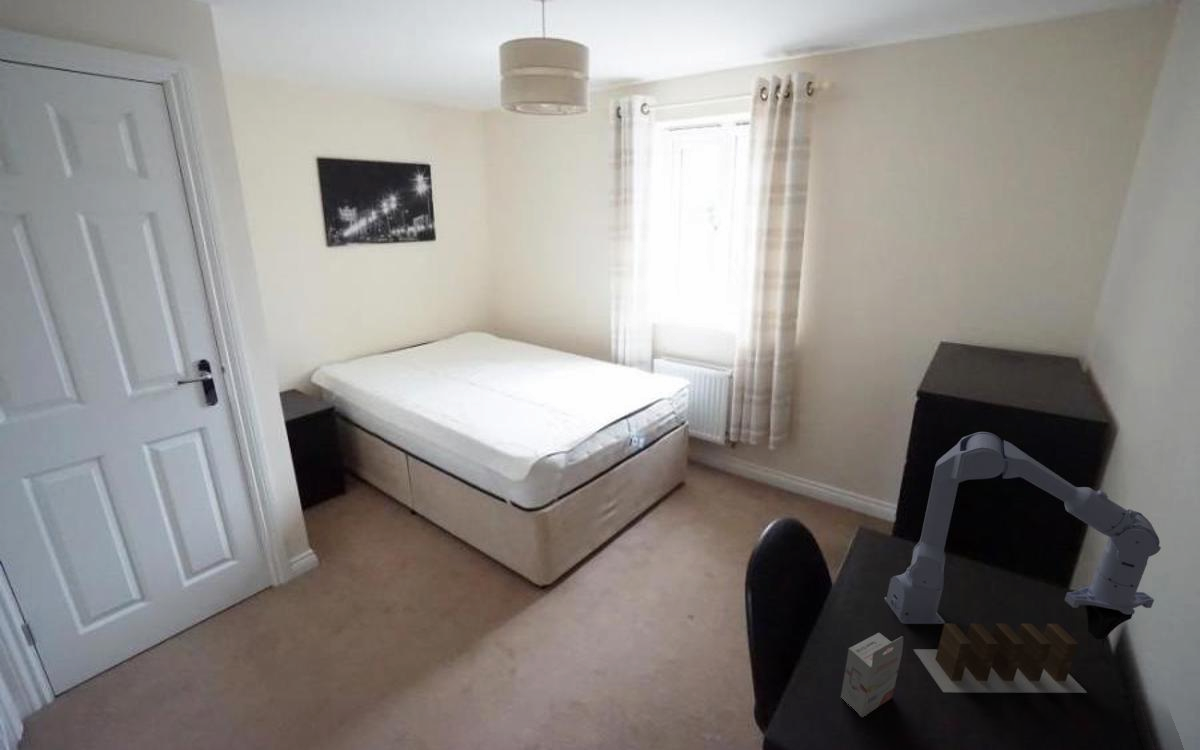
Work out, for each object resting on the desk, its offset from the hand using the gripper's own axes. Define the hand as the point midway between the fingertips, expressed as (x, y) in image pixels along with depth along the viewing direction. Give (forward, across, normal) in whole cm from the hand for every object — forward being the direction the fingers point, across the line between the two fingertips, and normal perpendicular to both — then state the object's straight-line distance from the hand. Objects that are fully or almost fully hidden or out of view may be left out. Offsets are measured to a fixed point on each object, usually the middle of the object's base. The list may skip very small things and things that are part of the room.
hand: (1095, 635), depth 102 cm
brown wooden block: (+9, -6, 0) cm, 11 cm away
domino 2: (+9, -22, 0) cm, 23 cm away
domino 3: (+9, -16, 0) cm, 19 cm away
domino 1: (+9, -26, 0) cm, 28 cm away
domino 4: (+9, -12, 0) cm, 14 cm away
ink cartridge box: (+9, -46, -6) cm, 47 cm away
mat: (+9, -17, 0) cm, 19 cm away
